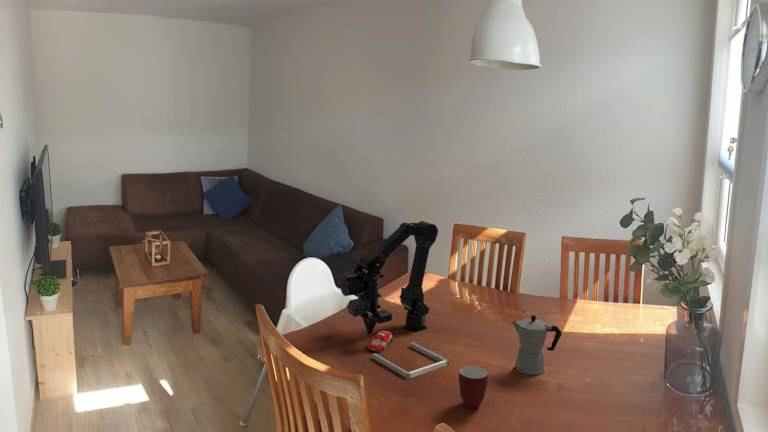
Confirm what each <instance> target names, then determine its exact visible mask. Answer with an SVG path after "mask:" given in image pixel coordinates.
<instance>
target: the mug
mask: <svg viewBox="0 0 768 432" xmlns="http://www.w3.org/2000/svg"><path fill="white" fill-rule="evenodd" d="M488 384H489V371H488V370H487V369H485V368H483V367H481V366H478V365H477V366H476V365H466V366H462V367H461V368H459V370H458V386H459V393H460V398H461V400H462V403H463V404H464V405H465V407H467V408H469V409H478V408H479V407H480V406H481V404H482V403H483V401H484V398H485V395H486V391H487V387H488Z"/></svg>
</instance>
